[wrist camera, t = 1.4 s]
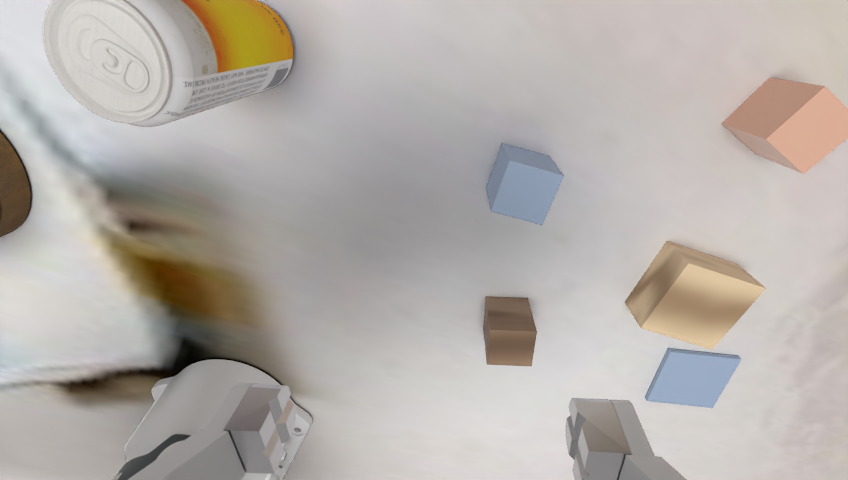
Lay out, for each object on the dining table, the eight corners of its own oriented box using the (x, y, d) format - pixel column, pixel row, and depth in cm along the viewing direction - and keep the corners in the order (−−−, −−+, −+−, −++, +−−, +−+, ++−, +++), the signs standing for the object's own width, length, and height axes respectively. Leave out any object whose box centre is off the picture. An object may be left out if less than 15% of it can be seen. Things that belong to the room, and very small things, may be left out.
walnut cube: (523, 330, 41) (531, 366, 37) (483, 328, 42) (486, 364, 37) (527, 297, 40) (536, 331, 35) (485, 296, 40) (489, 329, 35)
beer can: (235, -21, 29) (47, -63, 15) (311, 35, 30) (198, 41, 17) (204, 56, 31) (20, 77, 18) (275, 104, 33) (153, 157, 19)
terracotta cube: (755, 153, 32) (803, 174, 28) (721, 123, 31) (765, 139, 27) (803, 110, 30) (863, 124, 26) (769, 77, 29) (825, 86, 25)
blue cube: (530, 200, 35) (541, 225, 31) (486, 187, 35) (490, 211, 30) (549, 155, 33) (564, 175, 29) (502, 142, 33) (509, 160, 28)
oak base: (689, 320, 40) (711, 349, 36) (623, 300, 39) (640, 327, 36) (735, 263, 37) (766, 288, 33) (665, 239, 36) (688, 263, 32)
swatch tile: (709, 404, 44) (712, 408, 44) (645, 397, 44) (646, 400, 44) (738, 355, 41) (741, 359, 41) (668, 348, 41) (670, 351, 41)
